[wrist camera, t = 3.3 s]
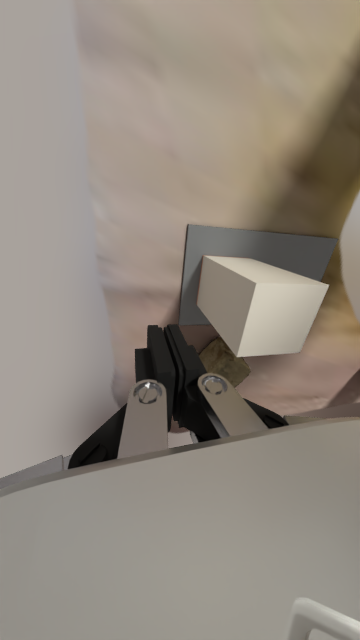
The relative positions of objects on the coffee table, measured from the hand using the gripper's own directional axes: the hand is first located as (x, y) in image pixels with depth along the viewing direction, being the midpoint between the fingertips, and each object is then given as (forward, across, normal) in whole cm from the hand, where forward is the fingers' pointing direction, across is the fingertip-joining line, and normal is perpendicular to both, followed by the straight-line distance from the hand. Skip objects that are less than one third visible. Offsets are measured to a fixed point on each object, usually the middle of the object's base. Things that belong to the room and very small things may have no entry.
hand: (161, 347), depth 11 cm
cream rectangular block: (+13, -10, -1) cm, 16 cm away
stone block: (+14, -10, +13) cm, 21 cm away
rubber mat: (+13, -15, -1) cm, 19 cm away
